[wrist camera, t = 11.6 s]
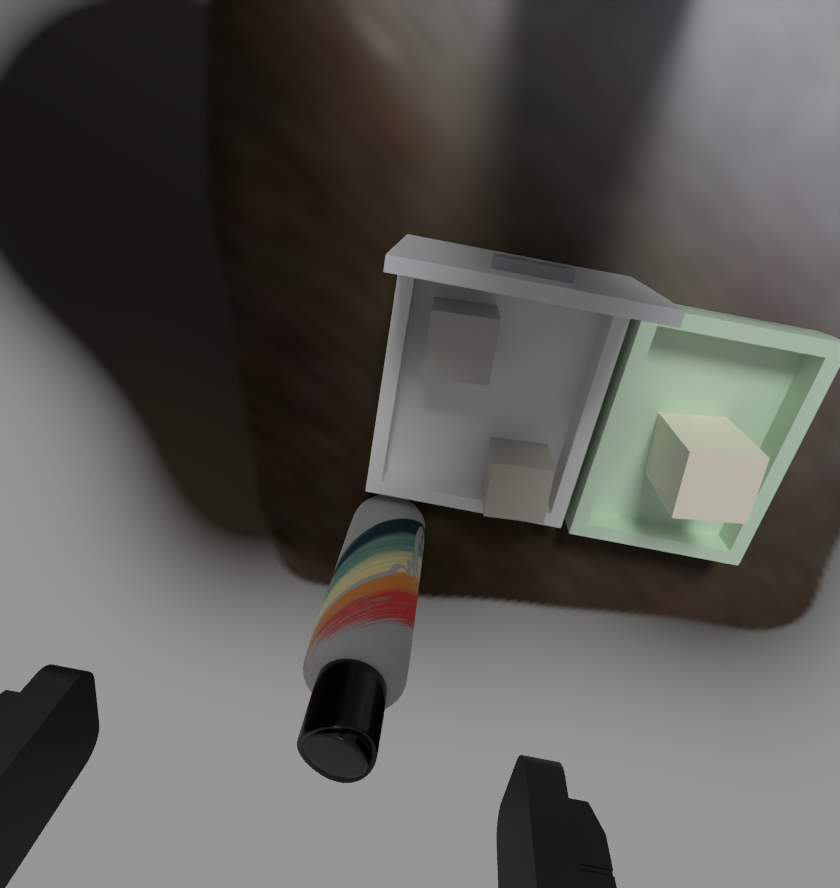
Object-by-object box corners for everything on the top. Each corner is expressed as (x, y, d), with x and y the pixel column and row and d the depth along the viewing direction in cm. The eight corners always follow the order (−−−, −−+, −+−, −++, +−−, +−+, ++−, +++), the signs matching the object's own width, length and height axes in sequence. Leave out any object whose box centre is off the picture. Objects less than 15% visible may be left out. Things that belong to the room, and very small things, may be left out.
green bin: (633, 295, 36) (646, 305, 33) (822, 331, 36) (851, 344, 33) (562, 510, 43) (568, 533, 40) (721, 540, 43) (738, 565, 40)
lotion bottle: (438, 541, 45) (416, 789, 27) (373, 563, 46) (310, 812, 28) (407, 481, 43) (360, 706, 25) (340, 506, 44) (249, 736, 26)
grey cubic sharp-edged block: (435, 296, 36) (431, 309, 33) (497, 305, 36) (500, 319, 33) (426, 357, 38) (422, 376, 34) (486, 366, 38) (488, 385, 34)
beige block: (658, 412, 38) (689, 451, 32) (726, 417, 38) (769, 458, 32) (644, 471, 40) (671, 518, 34) (709, 476, 39) (747, 524, 34)
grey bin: (404, 252, 36) (400, 257, 34) (625, 294, 36) (635, 302, 34) (371, 474, 43) (365, 491, 40) (556, 509, 43) (560, 528, 40)
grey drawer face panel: (409, 223, 35) (387, 240, 26) (634, 266, 35) (691, 297, 26) (405, 247, 36) (383, 271, 27) (626, 289, 36) (679, 328, 27)
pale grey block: (490, 437, 40) (492, 462, 36) (547, 444, 40) (555, 470, 36) (482, 486, 42) (483, 516, 38) (537, 493, 42) (543, 523, 38)
